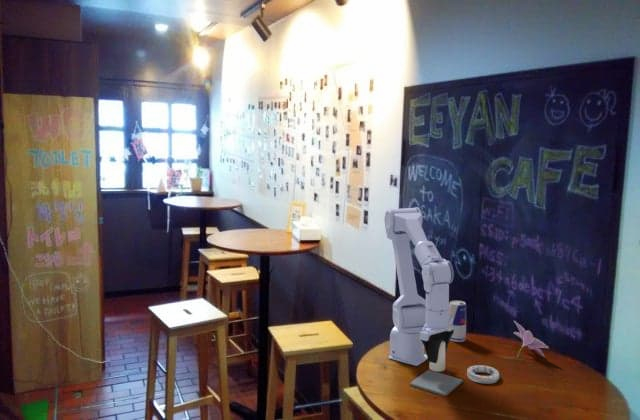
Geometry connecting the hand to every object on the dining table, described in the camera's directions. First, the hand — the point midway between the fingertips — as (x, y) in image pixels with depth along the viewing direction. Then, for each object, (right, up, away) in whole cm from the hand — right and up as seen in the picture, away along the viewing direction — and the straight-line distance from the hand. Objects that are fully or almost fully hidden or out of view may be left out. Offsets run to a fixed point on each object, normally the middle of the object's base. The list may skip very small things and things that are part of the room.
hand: (436, 359), depth 135 cm
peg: (0, -2, 0) cm, 2 cm away
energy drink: (+13, -3, +31) cm, 34 cm away
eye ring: (+13, -6, +4) cm, 15 cm away
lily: (+31, -4, +18) cm, 36 cm away
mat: (0, -7, +1) cm, 7 cm away
